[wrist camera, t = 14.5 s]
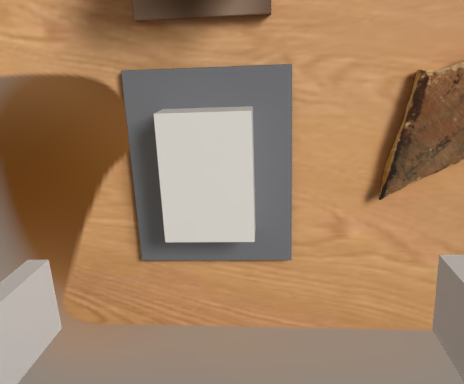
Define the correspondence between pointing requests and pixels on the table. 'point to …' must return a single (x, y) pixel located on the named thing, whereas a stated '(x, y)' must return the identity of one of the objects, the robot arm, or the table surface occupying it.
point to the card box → (206, 173)
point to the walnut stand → (197, 8)
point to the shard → (428, 129)
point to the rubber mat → (265, 152)
